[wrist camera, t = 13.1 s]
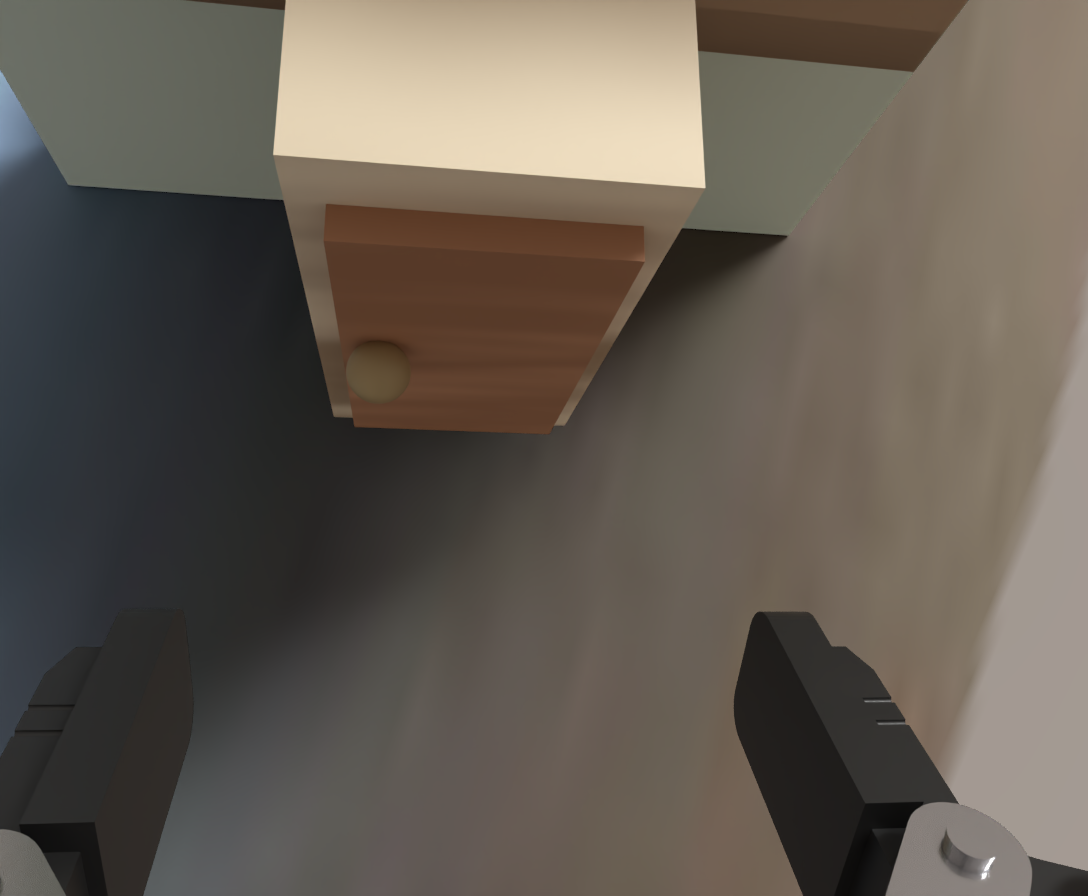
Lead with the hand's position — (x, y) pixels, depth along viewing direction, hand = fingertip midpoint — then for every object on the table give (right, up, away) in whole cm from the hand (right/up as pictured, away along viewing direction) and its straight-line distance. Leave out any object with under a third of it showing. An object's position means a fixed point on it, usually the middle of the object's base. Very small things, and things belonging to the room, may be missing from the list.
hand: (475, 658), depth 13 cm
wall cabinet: (-1, +7, +8) cm, 10 cm away
